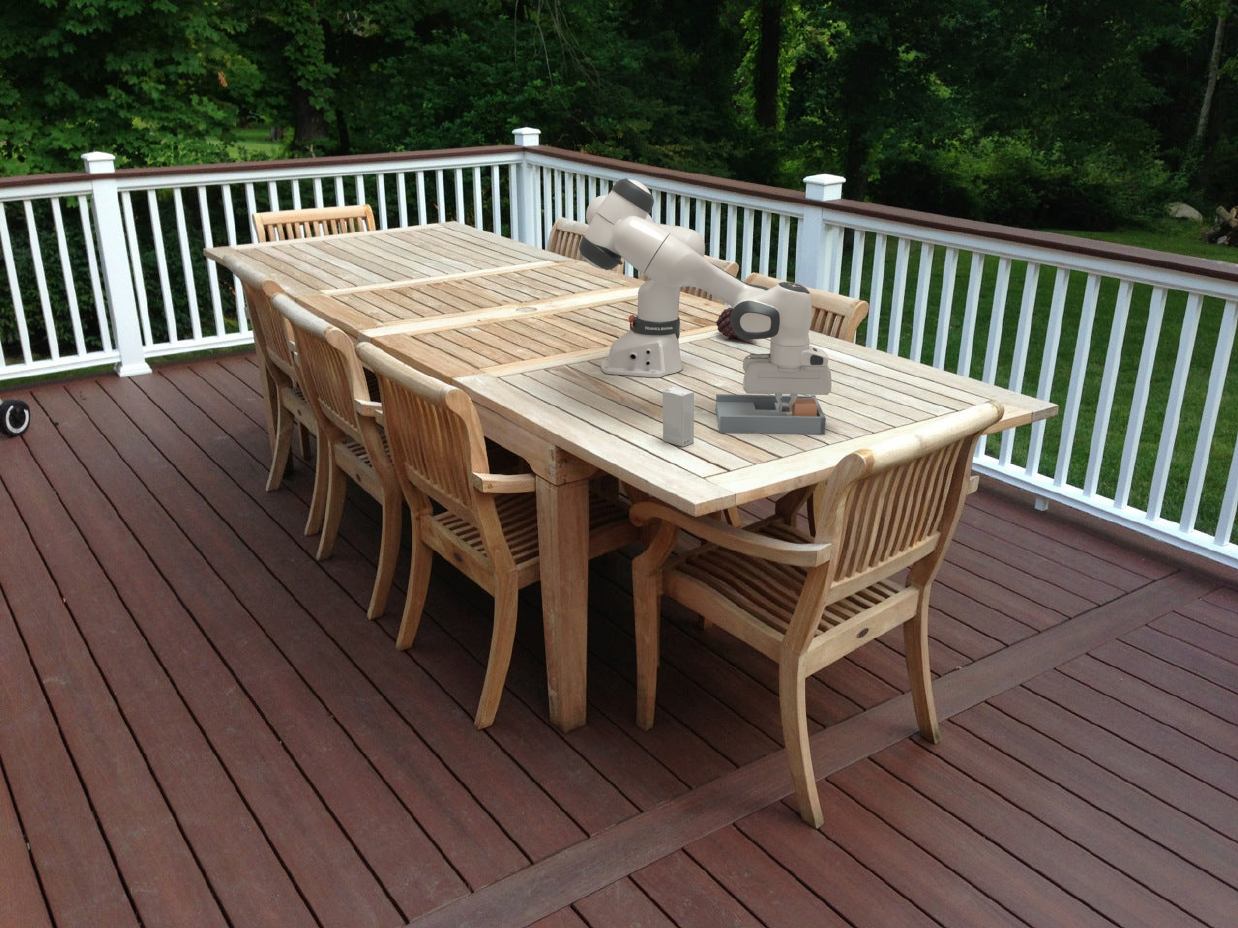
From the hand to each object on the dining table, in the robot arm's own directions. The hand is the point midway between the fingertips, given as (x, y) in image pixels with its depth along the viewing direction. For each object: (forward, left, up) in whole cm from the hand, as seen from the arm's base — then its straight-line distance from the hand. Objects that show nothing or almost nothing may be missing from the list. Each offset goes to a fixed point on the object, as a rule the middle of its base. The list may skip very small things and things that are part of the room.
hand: (785, 411), depth 255 cm
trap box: (-3, +3, -4) cm, 6 cm away
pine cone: (-5, +77, -4) cm, 77 cm away
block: (+4, 0, -1) cm, 5 cm away
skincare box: (-25, -12, -4) cm, 28 cm away
